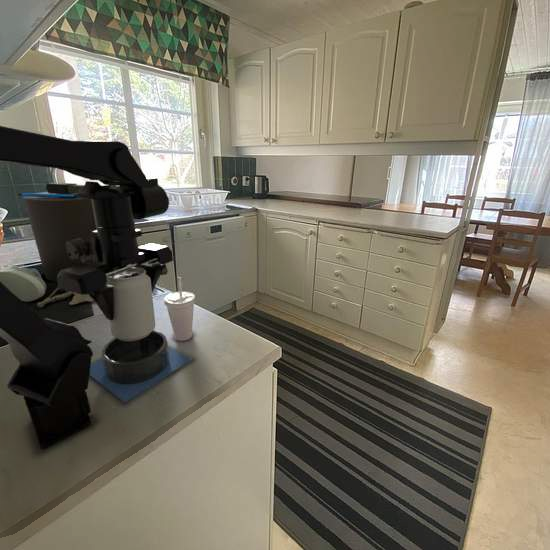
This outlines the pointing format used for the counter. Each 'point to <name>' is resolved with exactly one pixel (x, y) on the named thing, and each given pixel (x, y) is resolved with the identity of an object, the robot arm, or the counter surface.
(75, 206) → the container
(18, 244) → the counter surface
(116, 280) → the can
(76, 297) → the artifact
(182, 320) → the smoothie
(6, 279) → the boat shoe
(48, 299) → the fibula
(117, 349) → the pan
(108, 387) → the napkin
